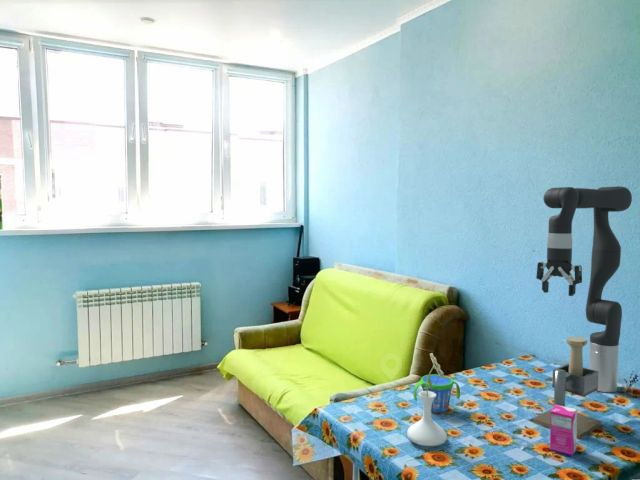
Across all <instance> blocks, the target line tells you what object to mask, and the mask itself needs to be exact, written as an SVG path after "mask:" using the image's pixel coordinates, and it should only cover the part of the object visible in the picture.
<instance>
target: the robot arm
mask: <svg viewBox="0 0 640 480" xmlns="http://www.w3.org/2000/svg"><path fill="white" fill-rule="evenodd" d="M632 197H633V196H632V193H631V191H630V189H629V188H627V187H625V186H618V185H617V186H603V187H602V186H601V187H599V188H597V189H596V188H586V187H585V188H583V187H582V188H581V187H575V188H574V187H572V186H565V187H564V186H563V187H551V188H549V189H547V190H546V191H545V192H544V194H543V199H542V200H543V203H544V204H545V205H546V206H547V207H548V208H549V209H561V210H560V212H559V213H558V214H556V215H552V216H550V217H549V218H548V235H547V241H546V242H547V243H546V260H547V261H546V262H543V261H540V262H537V268H536V279H537V280H539V281H541V290H542V291H543V293H545V294H547V293H549V290H550V289H549V288H550V287H549V286H550V283H549V282H550V281H549V280H550V279H551V278H552V277H558V278H564V280H566V281H567V283H568V296H569V297H573V296H575V294H576V288H577V287H576V286H577V285H578V284H582V283H583V269H582V265H581V264H576V265H572V264H573V263H572V260H573V258H572V257H573V237H572V236H573V234H572V230H573V227H572V226H573V219H574V216H575V213H576V211H577V209H593V234H592V235H593V237H592V239H593V240H592V249H591V259H590V260H591V262H590V263H591V265H590V280H589V287H588V292H587V299H586V305H585V316H586V317H585V318H586V320H587V321H588V322H589V323H592V324H597V325H603V326H605V329H604V330H602V331H598V332H597V331H596V332H592V333H590V335H589V354H588V355H589V356H588V357H589V358H588V359H589V361H588V369H591V370H595V371H599V372H598V390H596V392H597V391H598V392H602V393H615V392H617V391H618V375H619V373H618V371H619V370H618V369H619V349H620V348H619V343H620V342H619V341H620V338H621V328H622V326H621V325H622V319H623V317H622V316H623V309H622V305H621V304H620V303H619V302H618V301H614V300H607V299H602V296H603V291H604V288H605V286H606V284H607V283H608V281H610V279H611V278H612V277H613V276H614V275H615V273H616V272H617V271H618V269H619V267H620V265H621V257H622V256H621V255H622V253H621V252H622V248H621V247H622V246H621V244H620V242H619V240H618V239H617V237H616V234H615V233H614V231H613V230H612V229H611V226H610V220H609V212H617V213H618V212H624V211H626V210H628V209H629V208H630V207H631V205H632V202H633V198H632ZM545 269H547V271H546V272H545ZM571 271H573V272H574V276H573V274H572V273H571ZM544 272H545V273H544Z"/></svg>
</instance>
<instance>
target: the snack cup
mask: <svg viewBox="0 0 640 480" xmlns="http://www.w3.org/2000/svg"><path fill="white" fill-rule="evenodd" d="M428 375H429V374H426V375H423V376H422V377H421V378H420V380H419V381H417V382H416V383H415V386H414V388H413V394H412V395H413V398H414V401H416V402H417V401H418V396H417V390H418V389H419V387H420V386H421V388H422V391H427V389H423V388H425V387H427V377H428ZM444 377H445V378H441V377H440V375H439V374H437V373H434V374H430V376H429V378H430V379H431V382H432V385H431V386H432V387H430V388H428V391H431V392H434V393H435V394H436V397H435V398H434V399H433V402H432V407H431V411H432V412H431V413H435V414H436V413H437V414H440V413H441V414H442V413H446V412H447V411H449V409H450V408H449V406H450V401H451V395H452V389H453V387H454V385H455V386H456V393H455V397H456V399H458V400H459V399H461V388H460V385H459V384H458V383H457V381H455V380H454V379H452V378H451V377H449V376H446V375H444ZM428 385H429V383H428Z"/></svg>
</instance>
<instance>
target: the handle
mask: <svg viewBox="0 0 640 480" xmlns="http://www.w3.org/2000/svg"><path fill="white" fill-rule="evenodd" d="M565 342H566V344H567V345H569V346H570V350H569V351H570V352H569V361H568V364H569V373H571V374H575V375H579V376H582V375H583V368H584V364H583V363H584V361H583V359H584V358H583V347H585V346H586V345H587V344H588V339H587V338H584V337H580V336H570V337H567V338H566V339H565Z"/></svg>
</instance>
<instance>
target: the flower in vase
mask: <svg viewBox="0 0 640 480" xmlns="http://www.w3.org/2000/svg"><path fill="white" fill-rule="evenodd" d="M429 357H430V359H431V361H432V368H431V369H430V371H429V373H428V374H427V375H428V377H427V387H425V388H422V390H421V391H419V392H418V396H419V397H420V399H421V402H422V412H423V413H422V417H421V419H419V420H418V421H416V422H415V423H413V424H412V425H411V426H409V427H408V428H407V431H406V435H407V437H408V439H409V440H410V441H411V442H413V443H415V444H418V445H420V446H424V447H425V446H426V447H437V446H441V445H442V444H445V442H446V441H447V439H448V435H447V433H446V431H445V430H444V429H443V427H441V426H440V425H439V424H437V423H436V422H435V421H434V420H433V418H432V412H431V407H432V402H433V399H434V398H435V397H436V394H435V393H434V392H431V391H428V388H430V387H432V386H431V385H432V382H431V379H430V378H429V376H430V375H431V373H432V371H433V370H436V372H437V375H440V377H441V378H445V377H444V376H445V375H444V374H445V373H444V371H442V369H441V365H440V364H439V363H438V362H437V361H438V360H437V357H436V356H434V353H433V352H431V353H429ZM428 383H429V385H428ZM423 389H427V391H423Z"/></svg>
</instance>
